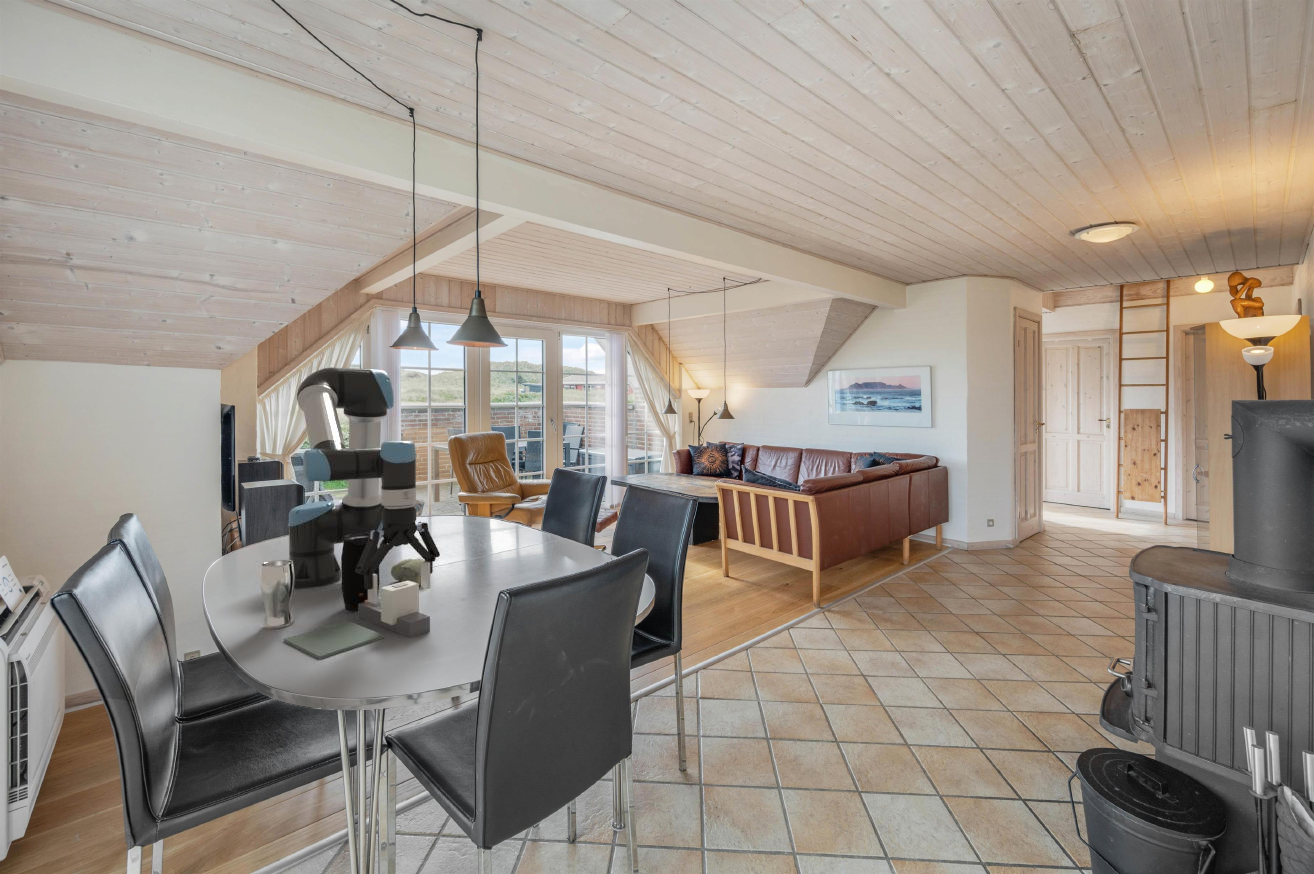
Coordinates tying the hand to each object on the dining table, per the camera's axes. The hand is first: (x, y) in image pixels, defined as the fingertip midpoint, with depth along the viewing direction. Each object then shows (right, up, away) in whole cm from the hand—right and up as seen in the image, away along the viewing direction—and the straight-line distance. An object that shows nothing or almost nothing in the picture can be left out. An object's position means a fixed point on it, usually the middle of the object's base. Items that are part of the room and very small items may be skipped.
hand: (400, 594), depth 138 cm
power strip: (-3, -8, +2) cm, 9 cm away
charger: (0, -6, 0) cm, 6 cm away
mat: (-12, -8, -7) cm, 16 cm away
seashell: (-12, -6, +36) cm, 38 cm away
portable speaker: (-16, -7, +14) cm, 23 cm away
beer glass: (-30, -8, +1) cm, 31 cm away
